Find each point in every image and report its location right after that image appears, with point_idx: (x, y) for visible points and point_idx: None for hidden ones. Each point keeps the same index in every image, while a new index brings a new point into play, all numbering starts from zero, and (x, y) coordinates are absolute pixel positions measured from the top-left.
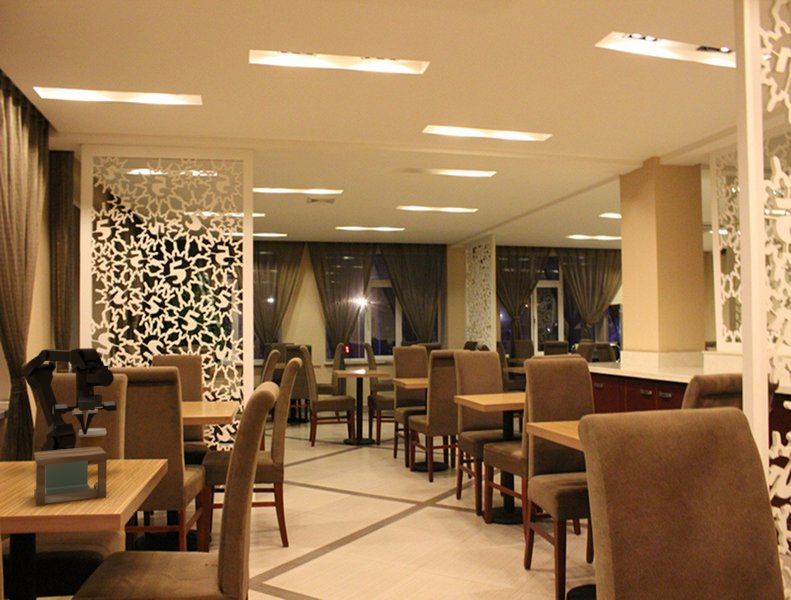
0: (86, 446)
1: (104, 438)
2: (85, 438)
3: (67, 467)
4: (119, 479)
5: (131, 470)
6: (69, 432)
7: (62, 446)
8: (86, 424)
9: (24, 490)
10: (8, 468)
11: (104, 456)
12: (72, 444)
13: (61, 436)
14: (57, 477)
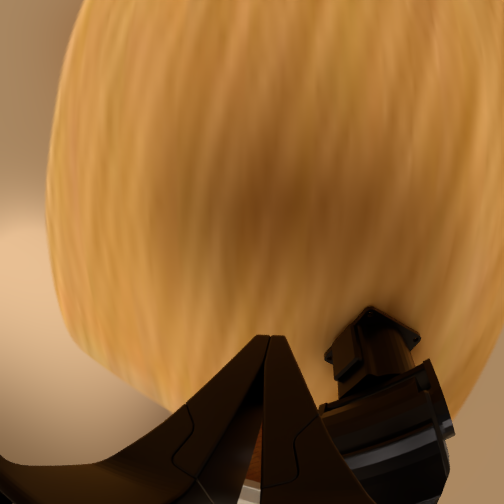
0: (258, 452)
1: None
2: (257, 477)
3: None
4: (158, 25)
5: (113, 210)
6: (353, 466)
7: (389, 389)
8: (230, 410)
9: (496, 34)
10: None
11: None
12: (332, 412)
13: (406, 433)
14: None
